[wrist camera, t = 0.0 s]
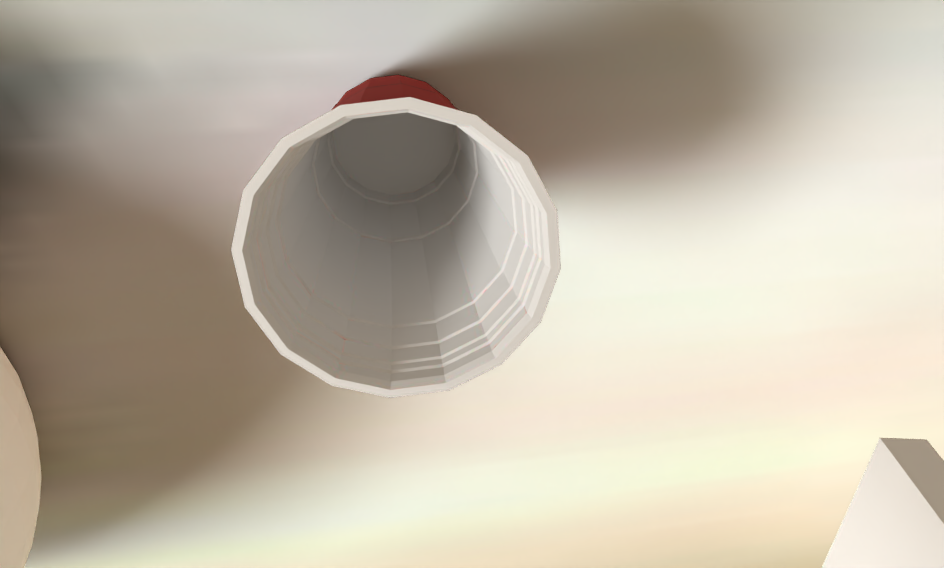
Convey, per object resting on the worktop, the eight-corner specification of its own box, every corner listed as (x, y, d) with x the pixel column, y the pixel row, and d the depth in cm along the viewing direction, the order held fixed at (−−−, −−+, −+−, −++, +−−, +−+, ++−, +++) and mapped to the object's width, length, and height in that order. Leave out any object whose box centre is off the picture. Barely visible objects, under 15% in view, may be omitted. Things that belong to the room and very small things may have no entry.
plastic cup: (475, -29, 37) (515, 57, 26) (541, 201, 42) (595, 346, 32) (224, 55, 37) (168, 170, 27) (321, 269, 43) (305, 433, 33)
